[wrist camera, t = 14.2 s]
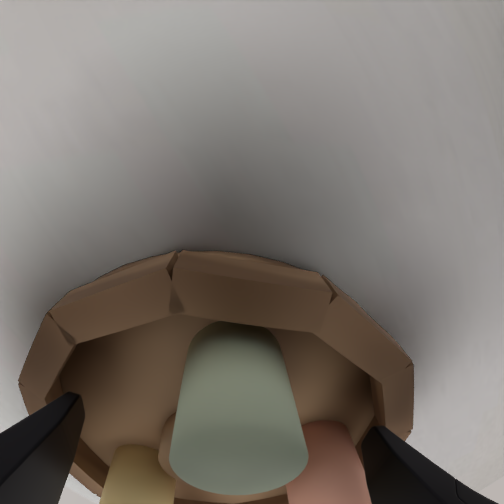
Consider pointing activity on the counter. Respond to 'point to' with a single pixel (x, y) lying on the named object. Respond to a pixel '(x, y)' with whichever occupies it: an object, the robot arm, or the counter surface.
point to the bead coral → (329, 468)
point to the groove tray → (176, 347)
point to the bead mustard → (137, 478)
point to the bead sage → (236, 414)
